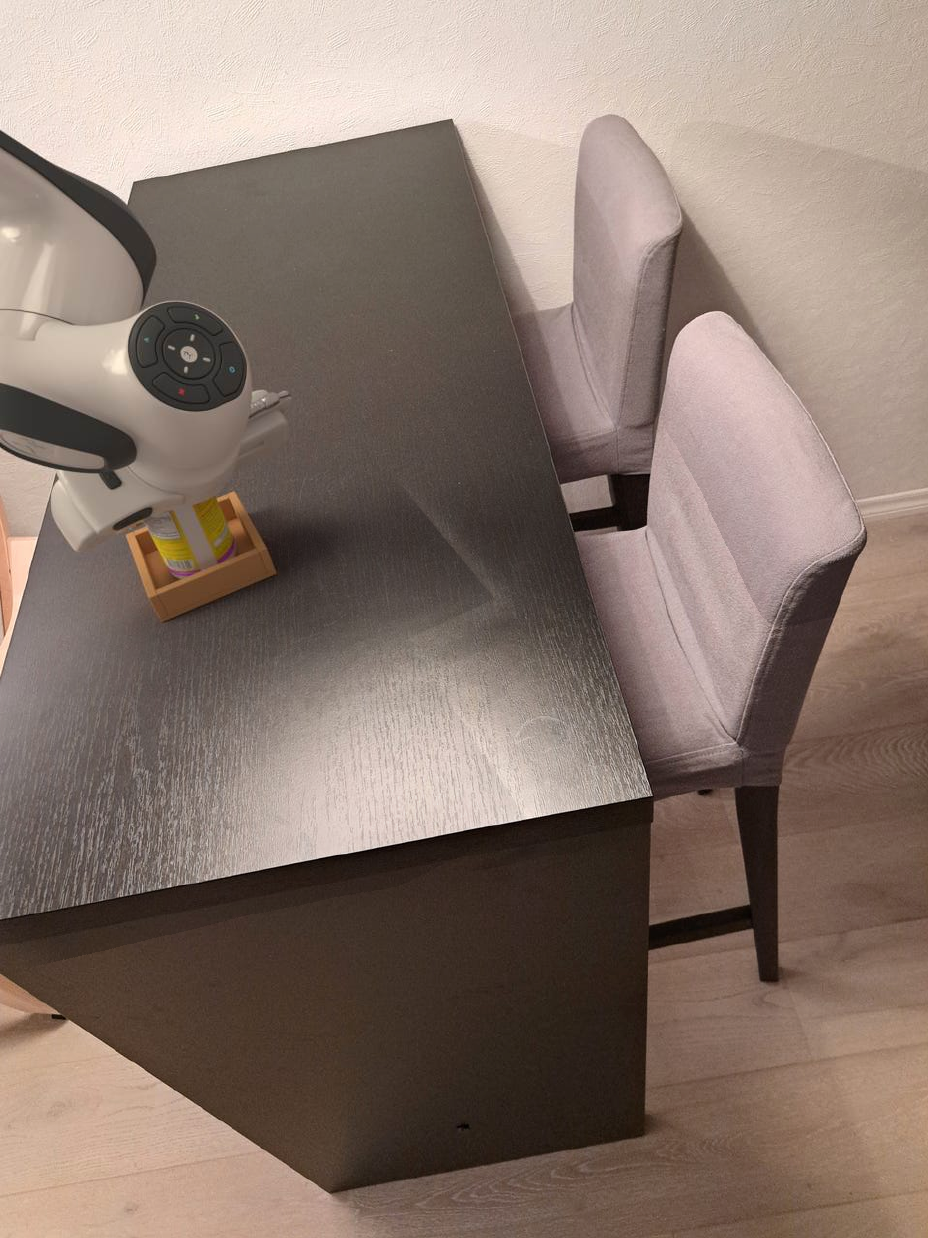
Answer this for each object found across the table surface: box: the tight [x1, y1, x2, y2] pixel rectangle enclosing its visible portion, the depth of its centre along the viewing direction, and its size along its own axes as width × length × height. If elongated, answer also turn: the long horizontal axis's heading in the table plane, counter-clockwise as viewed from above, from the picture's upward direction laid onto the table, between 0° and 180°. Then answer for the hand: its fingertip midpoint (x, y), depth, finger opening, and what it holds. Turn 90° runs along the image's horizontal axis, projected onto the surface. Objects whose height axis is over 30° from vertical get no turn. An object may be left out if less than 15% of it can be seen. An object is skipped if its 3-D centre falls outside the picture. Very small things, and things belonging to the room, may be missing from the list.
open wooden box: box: [125, 490, 277, 623], centre depth 89 cm, size 11×11×3 cm
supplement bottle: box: [144, 495, 237, 580], centre depth 85 cm, size 7×7×13 cm
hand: (173, 497), depth 85 cm, fingers closed on supplement bottle, 7 cm apart
